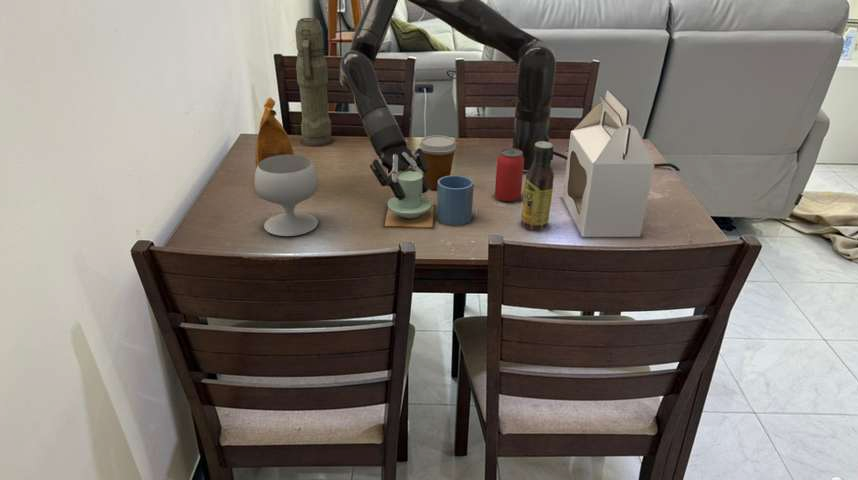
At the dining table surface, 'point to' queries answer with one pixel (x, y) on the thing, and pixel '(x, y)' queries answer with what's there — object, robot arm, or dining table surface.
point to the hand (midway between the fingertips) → (413, 195)
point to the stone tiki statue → (312, 82)
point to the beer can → (509, 175)
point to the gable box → (607, 173)
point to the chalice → (287, 192)
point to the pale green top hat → (410, 196)
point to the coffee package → (271, 136)
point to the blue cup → (454, 200)
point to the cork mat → (410, 220)
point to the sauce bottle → (538, 188)
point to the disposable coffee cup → (437, 157)
